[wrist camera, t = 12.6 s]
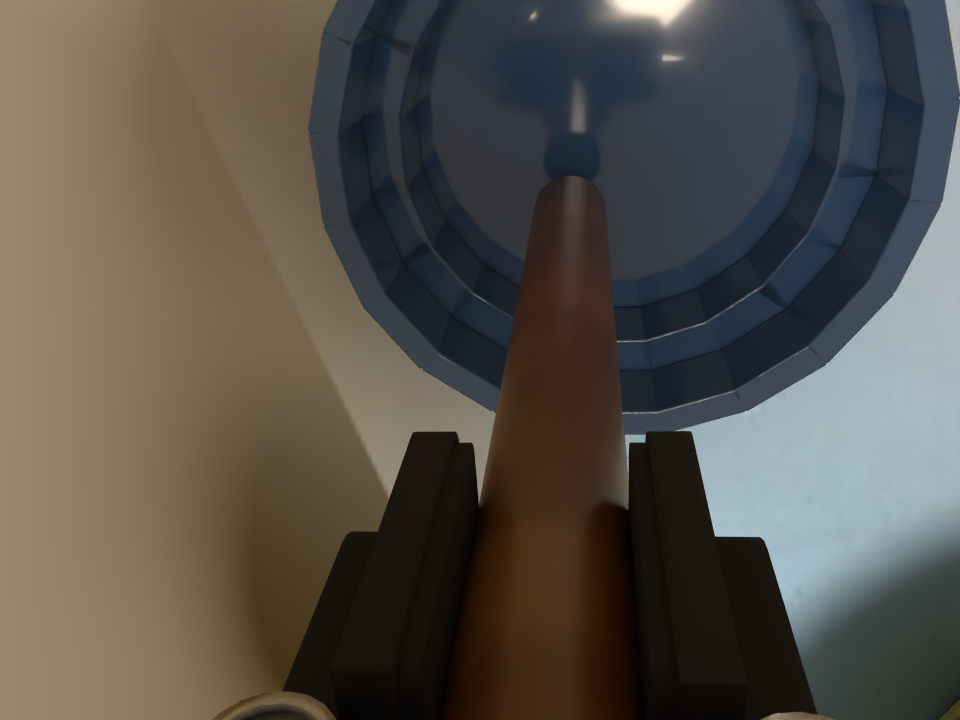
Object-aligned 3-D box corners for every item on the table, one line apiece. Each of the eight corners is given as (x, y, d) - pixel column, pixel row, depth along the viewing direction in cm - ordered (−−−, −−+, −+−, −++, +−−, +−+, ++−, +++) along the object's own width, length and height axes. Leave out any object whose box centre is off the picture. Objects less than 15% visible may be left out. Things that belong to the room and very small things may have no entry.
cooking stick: (535, 245, 24) (402, 1091, 6) (532, 176, 23) (368, 933, 5) (605, 243, 24) (671, 1118, 6) (605, 173, 23) (682, 958, 5)
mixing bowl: (395, 349, 30) (355, 436, 25) (332, -146, 24) (258, -173, 18) (841, 343, 28) (901, 434, 23) (914, -202, 22) (1024, -250, 16)
